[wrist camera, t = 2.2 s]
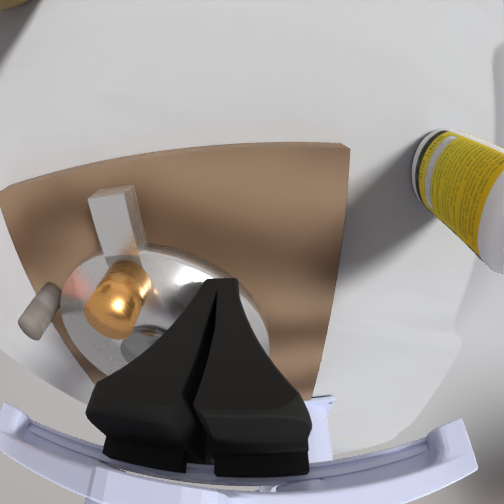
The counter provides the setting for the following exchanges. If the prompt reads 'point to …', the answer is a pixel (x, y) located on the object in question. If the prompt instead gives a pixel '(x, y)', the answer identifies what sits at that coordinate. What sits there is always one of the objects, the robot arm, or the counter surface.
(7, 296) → the counter surface
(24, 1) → the squeeze bottle
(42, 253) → the post board
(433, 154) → the supplement bottle
